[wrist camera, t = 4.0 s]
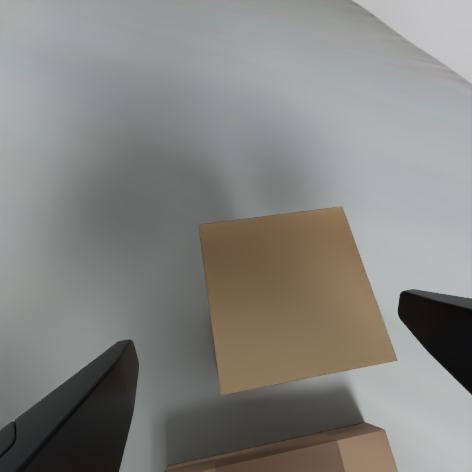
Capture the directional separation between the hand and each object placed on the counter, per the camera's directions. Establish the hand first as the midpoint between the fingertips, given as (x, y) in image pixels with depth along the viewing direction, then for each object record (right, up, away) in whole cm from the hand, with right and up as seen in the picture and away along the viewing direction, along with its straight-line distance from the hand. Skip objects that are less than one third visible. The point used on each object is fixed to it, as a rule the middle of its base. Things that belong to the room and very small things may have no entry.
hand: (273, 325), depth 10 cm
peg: (-1, -3, +8) cm, 9 cm away
